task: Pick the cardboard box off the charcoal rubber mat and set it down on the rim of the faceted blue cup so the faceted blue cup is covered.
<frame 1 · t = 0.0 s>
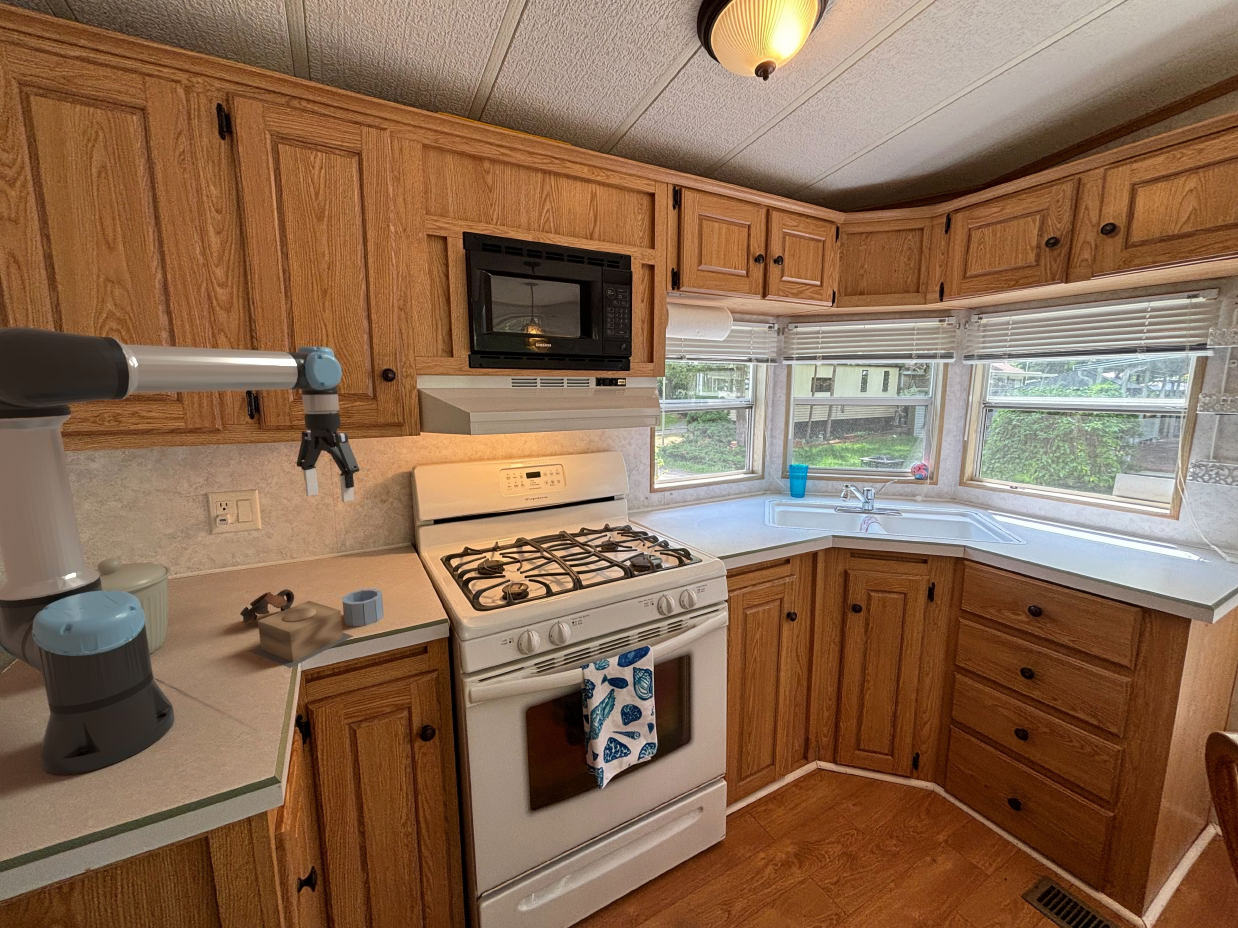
hand: (330, 497, 126), 28 cm above the countertop, fingers open, 13 cm apart
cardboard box: (302, 643, 111), resting on mat
mat: (303, 644, 111), on the countertop
brown jointed arch: (274, 621, 122), on the countertop
faceted blue cup: (364, 619, 123), on the countertop
canister: (125, 655, 107), on the countertop
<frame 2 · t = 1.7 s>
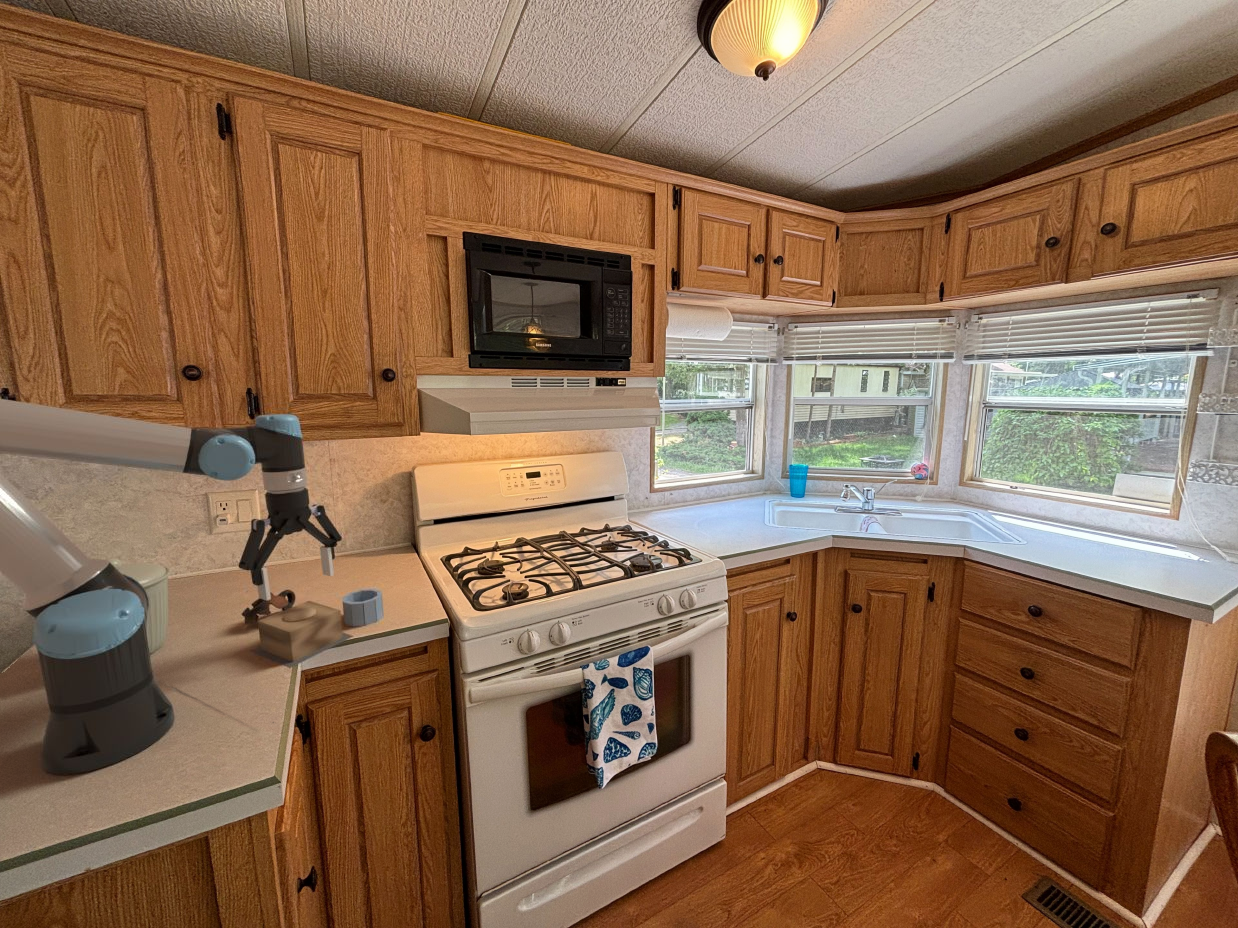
hand: (298, 586, 109), 14 cm above the countertop, fingers open, 13 cm apart
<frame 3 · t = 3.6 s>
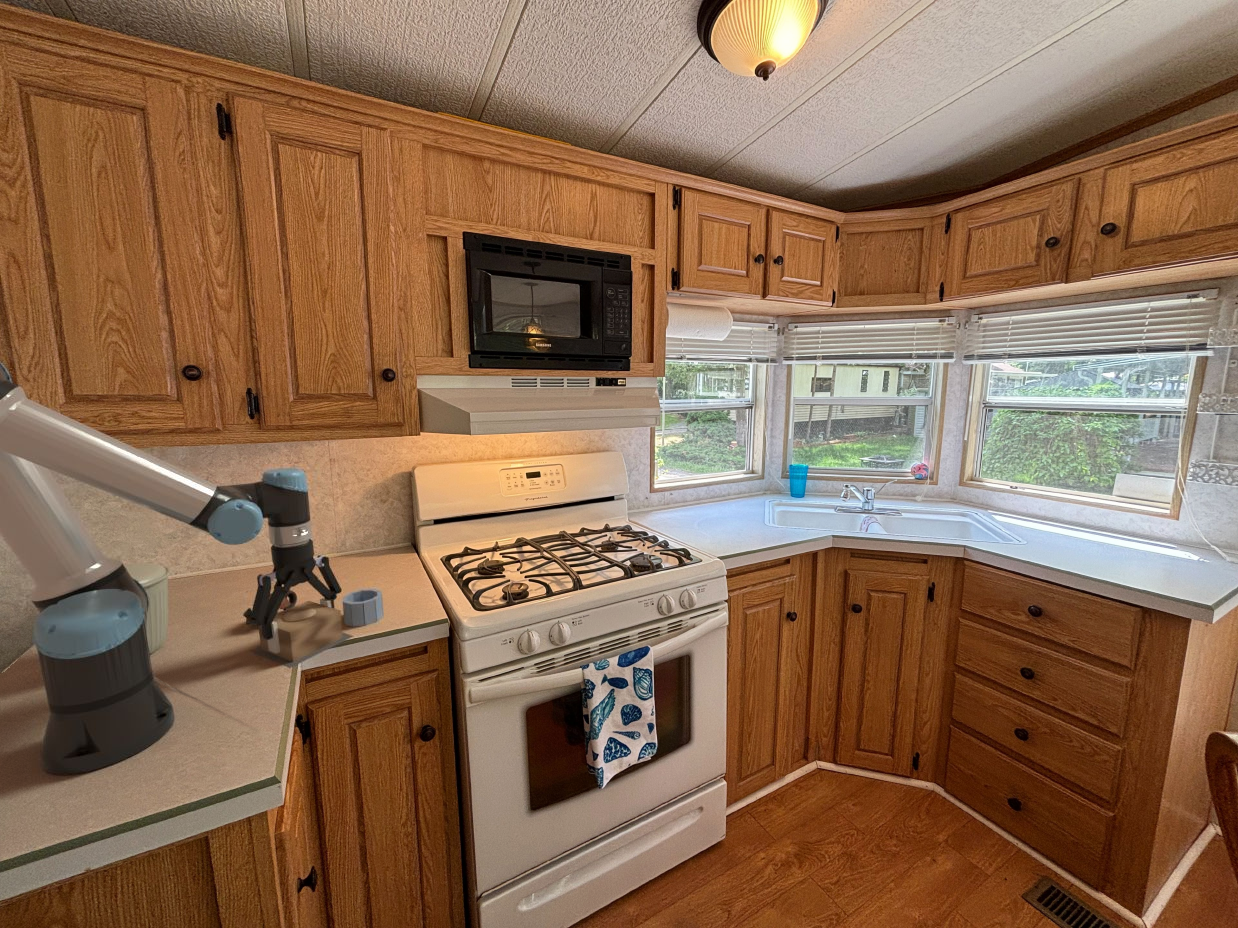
hand: (302, 638, 111), 2 cm above the countertop, fingers closed on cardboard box, 11 cm apart
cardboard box: (302, 643, 111), resting on mat, touching gripper
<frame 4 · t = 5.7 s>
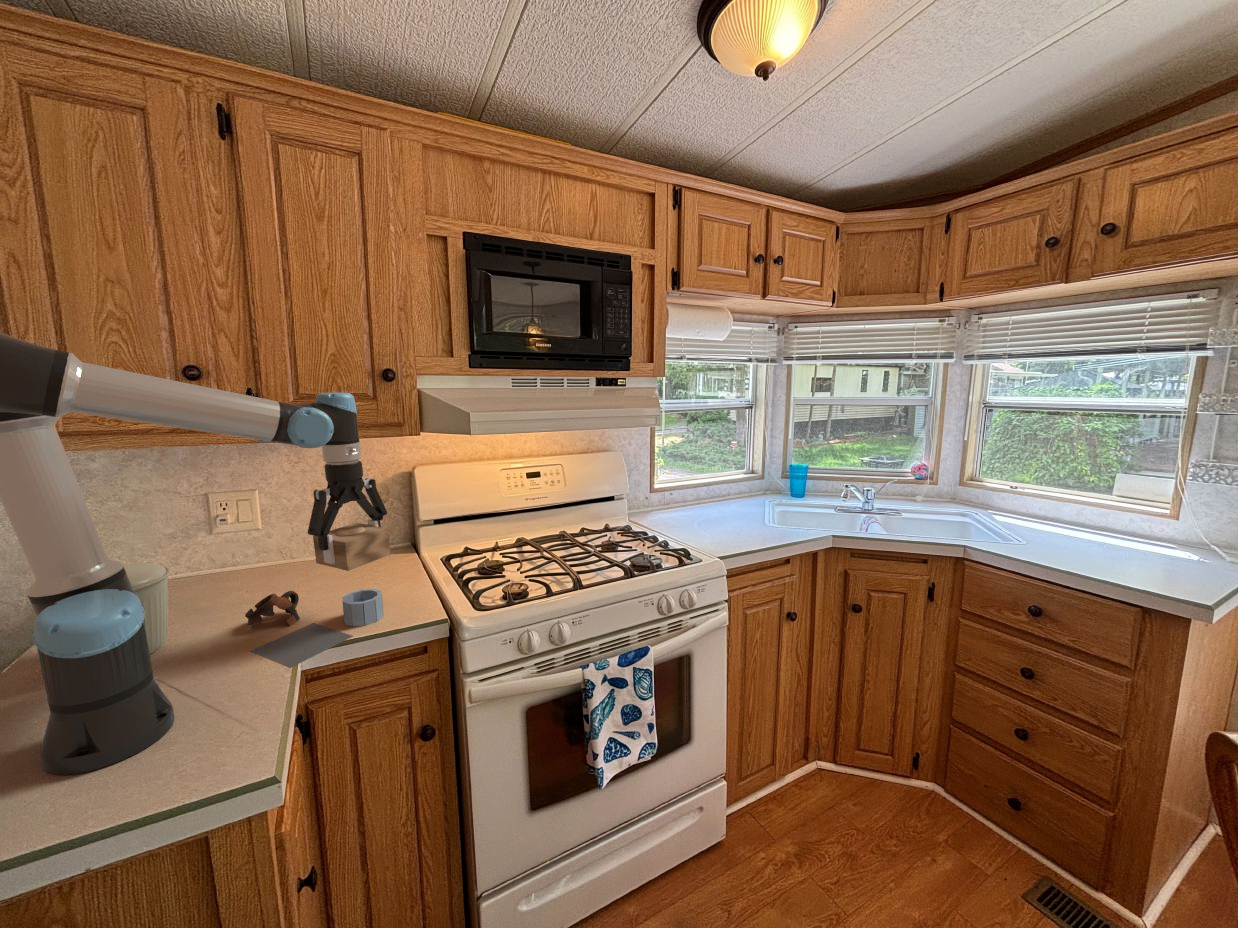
hand: (353, 554, 119), 17 cm above the countertop, fingers closed on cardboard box, 11 cm apart
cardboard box: (354, 558, 119), point 16 cm above the countertop, touching gripper
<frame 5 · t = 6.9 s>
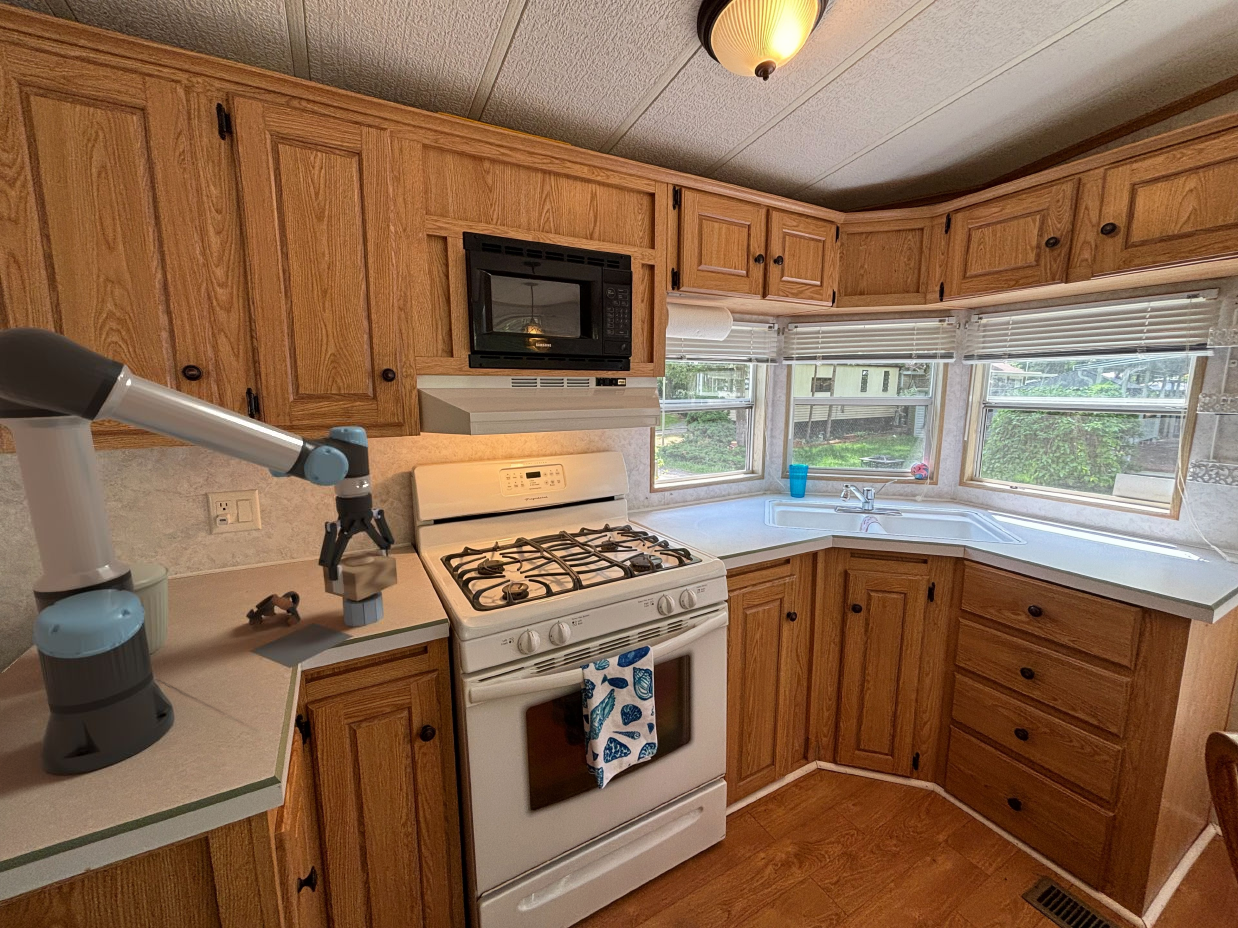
hand: (361, 583, 121), 9 cm above the countertop, fingers closed on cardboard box, 11 cm apart
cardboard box: (362, 587, 121), point 8 cm above the countertop, touching gripper
when the fingers open (8 cm above the countertop, at t = 8.0 s): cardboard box drops 1 cm, resting on faceted blue cup.
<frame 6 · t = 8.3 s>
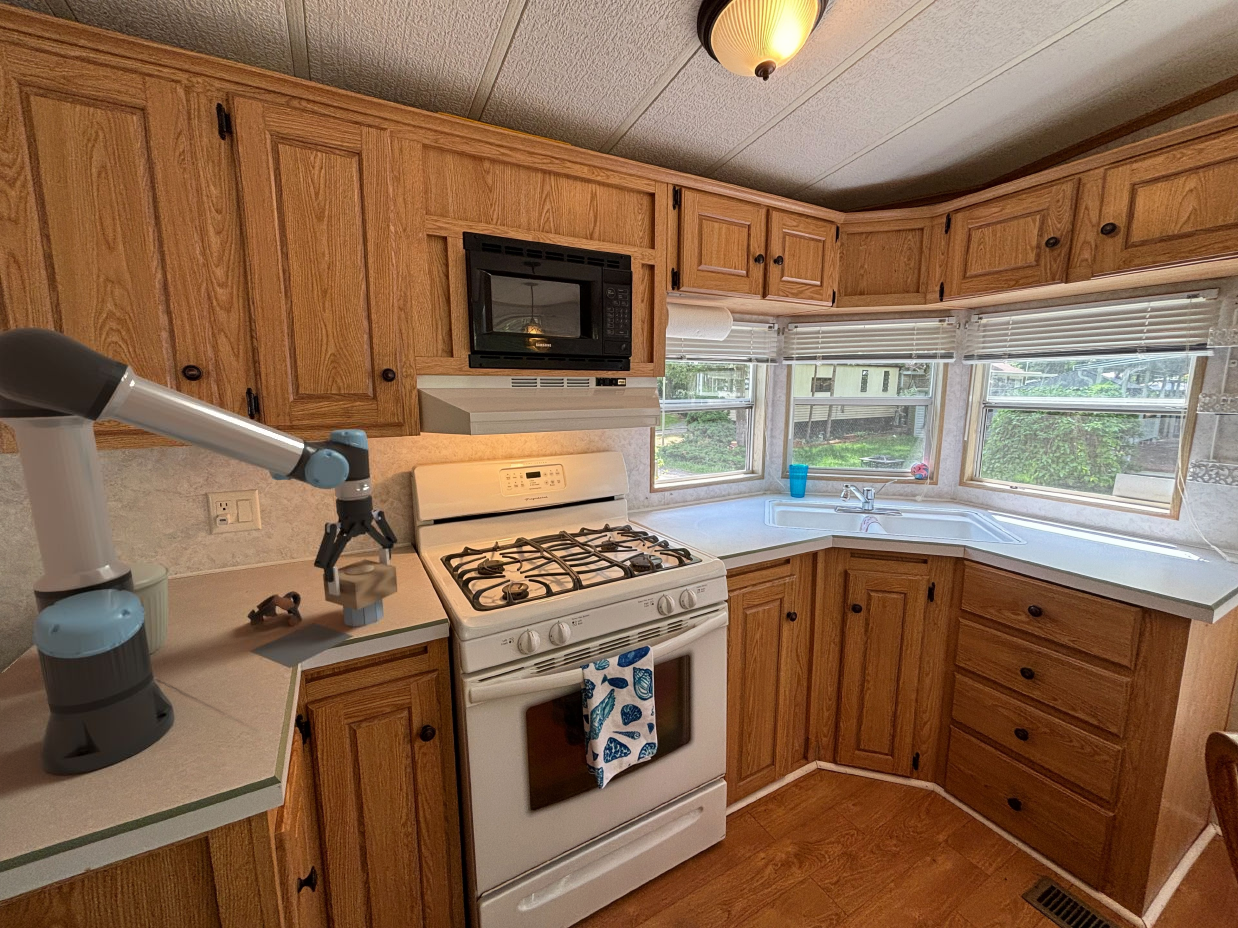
hand: (361, 583, 121), 9 cm above the countertop, fingers open, 13 cm apart
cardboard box: (362, 596, 122), point 6 cm above the countertop, touching faceted blue cup
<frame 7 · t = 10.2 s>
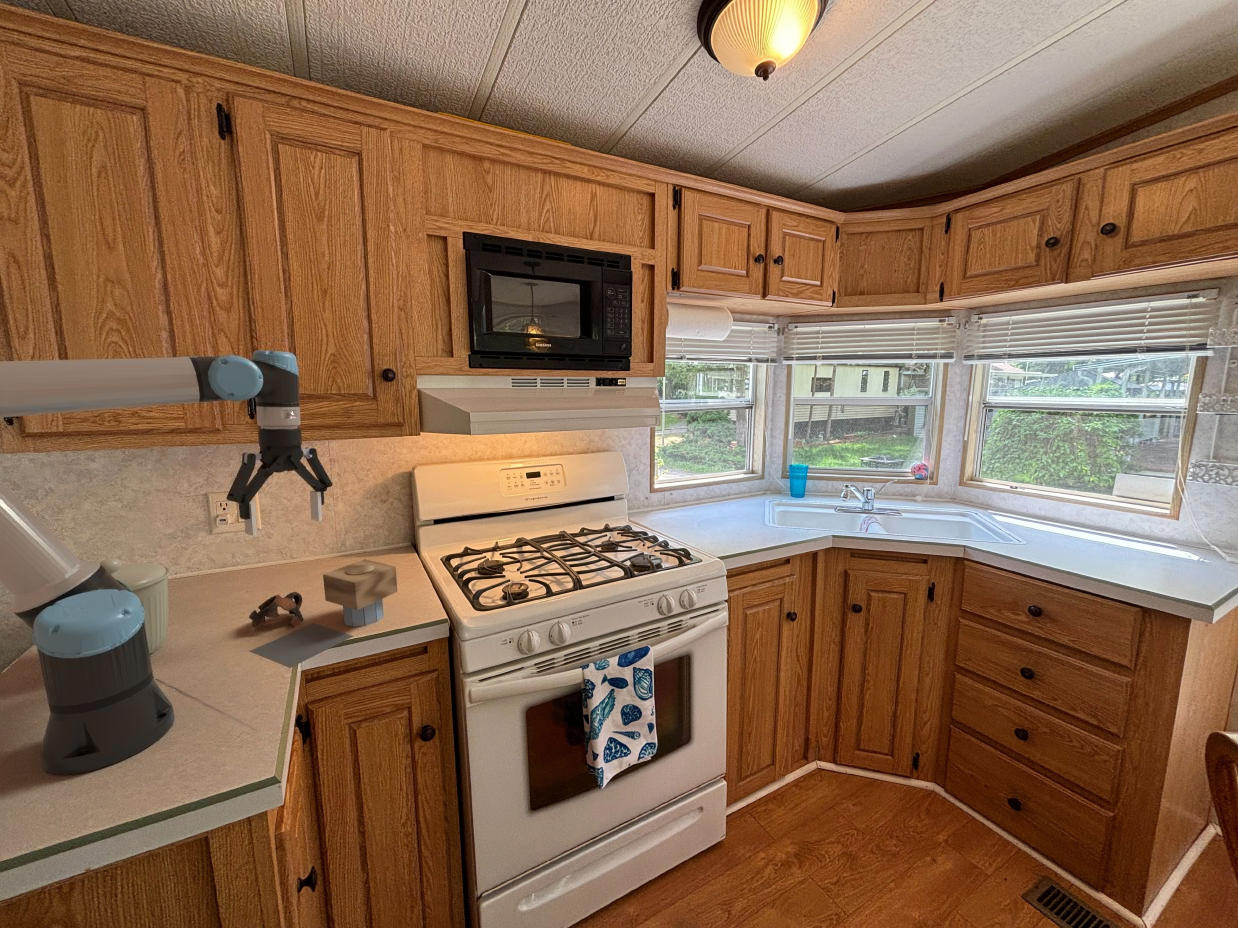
hand: (285, 526, 108), 26 cm above the countertop, fingers open, 13 cm apart
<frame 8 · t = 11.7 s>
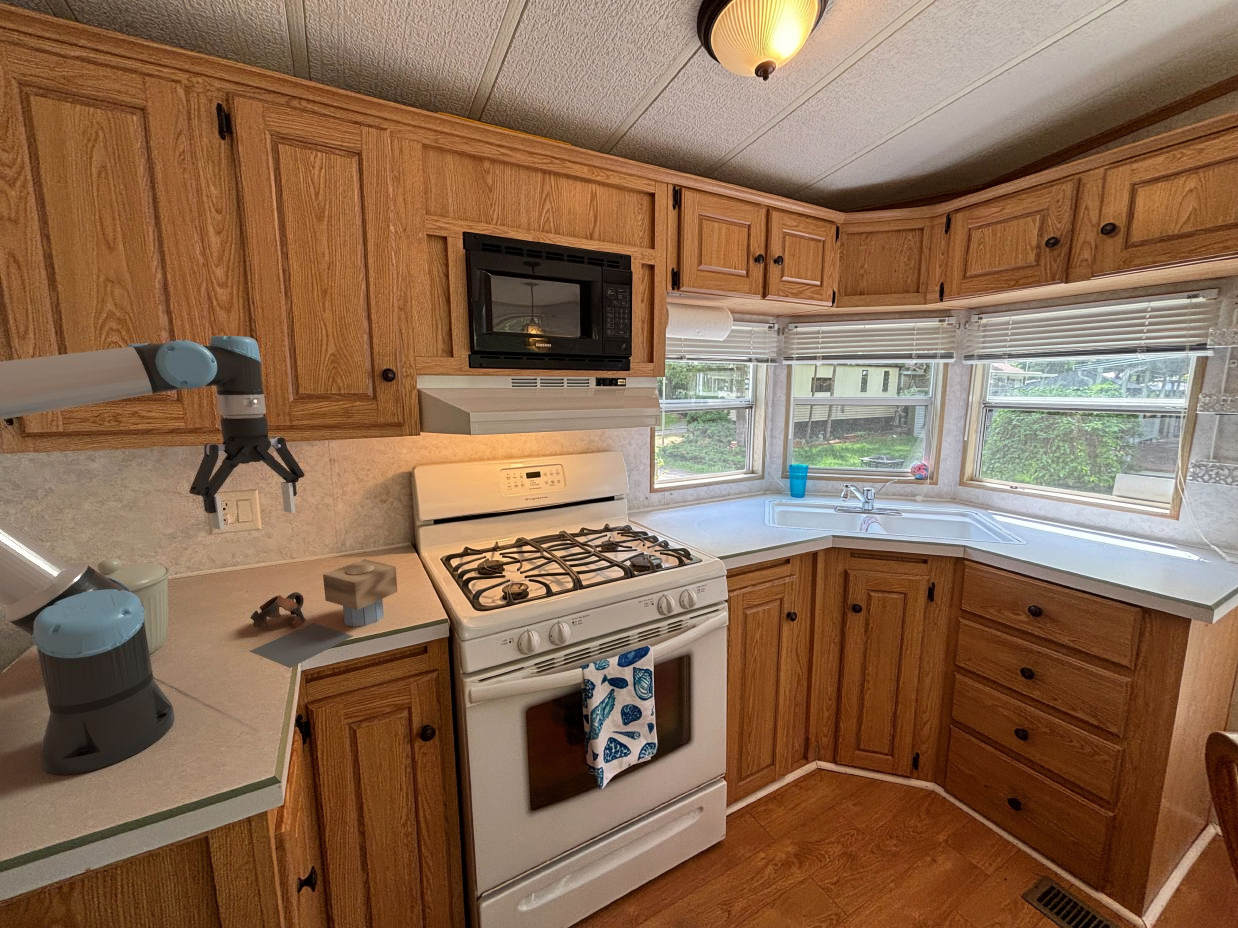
hand: (256, 519, 104), 29 cm above the countertop, fingers open, 13 cm apart
at the end: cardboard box 0.1 cm off-centre on the faceted blue cup, point 6.0 cm above the faceted blue cup's base; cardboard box tilted 0°; the gripper is holding nothing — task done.
